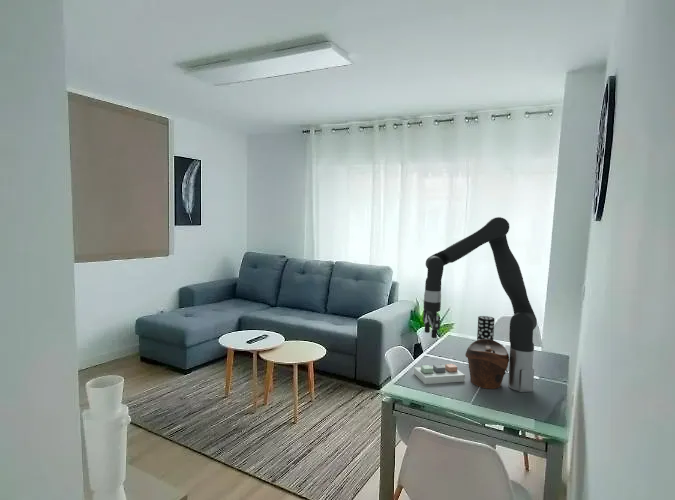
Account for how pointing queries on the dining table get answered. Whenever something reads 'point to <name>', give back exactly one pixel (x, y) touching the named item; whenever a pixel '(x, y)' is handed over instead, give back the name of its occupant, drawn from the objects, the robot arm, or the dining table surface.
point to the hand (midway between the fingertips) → (430, 335)
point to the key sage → (427, 369)
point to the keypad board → (439, 376)
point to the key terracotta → (450, 367)
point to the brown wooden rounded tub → (487, 363)
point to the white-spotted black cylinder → (485, 328)
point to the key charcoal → (438, 368)
